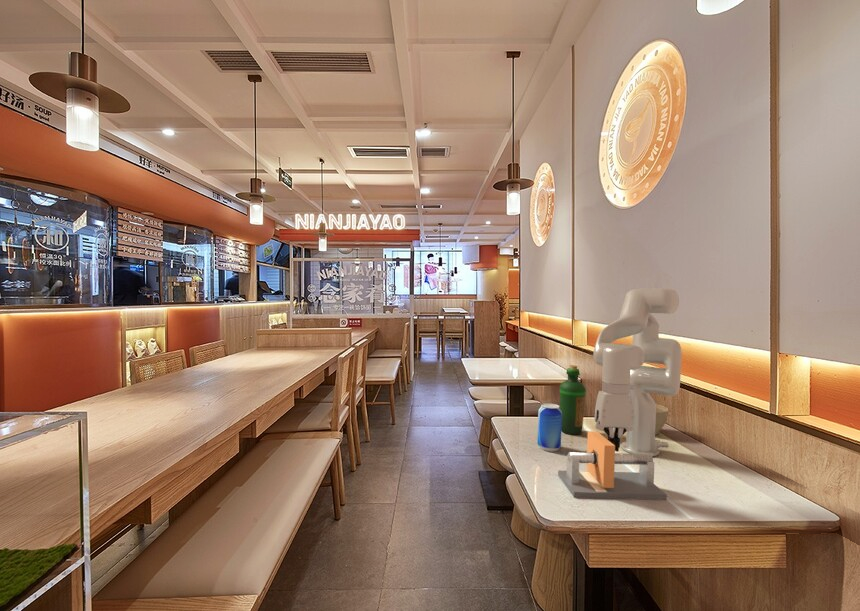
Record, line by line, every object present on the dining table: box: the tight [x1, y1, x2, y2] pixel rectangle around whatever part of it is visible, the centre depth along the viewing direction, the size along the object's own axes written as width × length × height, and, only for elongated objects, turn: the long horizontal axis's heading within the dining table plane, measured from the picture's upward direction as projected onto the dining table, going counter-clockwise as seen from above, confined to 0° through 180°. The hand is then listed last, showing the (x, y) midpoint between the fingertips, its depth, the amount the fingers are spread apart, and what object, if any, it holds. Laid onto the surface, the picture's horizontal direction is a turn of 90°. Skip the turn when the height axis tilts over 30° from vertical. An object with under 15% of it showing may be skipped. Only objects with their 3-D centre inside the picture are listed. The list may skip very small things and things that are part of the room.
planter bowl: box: [655, 403, 669, 436], centre depth 170 cm, size 16×16×11 cm
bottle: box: [559, 364, 587, 436], centre depth 167 cm, size 11×11×28 cm
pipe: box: [566, 451, 655, 486], centre depth 118 cm, size 24×4×9 cm, turn 90°
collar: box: [586, 430, 616, 488], centre depth 118 cm, size 3×12×12 cm, turn 0°
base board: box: [557, 469, 668, 500], centre depth 118 cm, size 26×14×2 cm, turn 90°
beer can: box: [537, 402, 562, 452], centre depth 148 cm, size 8×8×16 cm
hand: (613, 449), depth 118 cm, fingers closed
